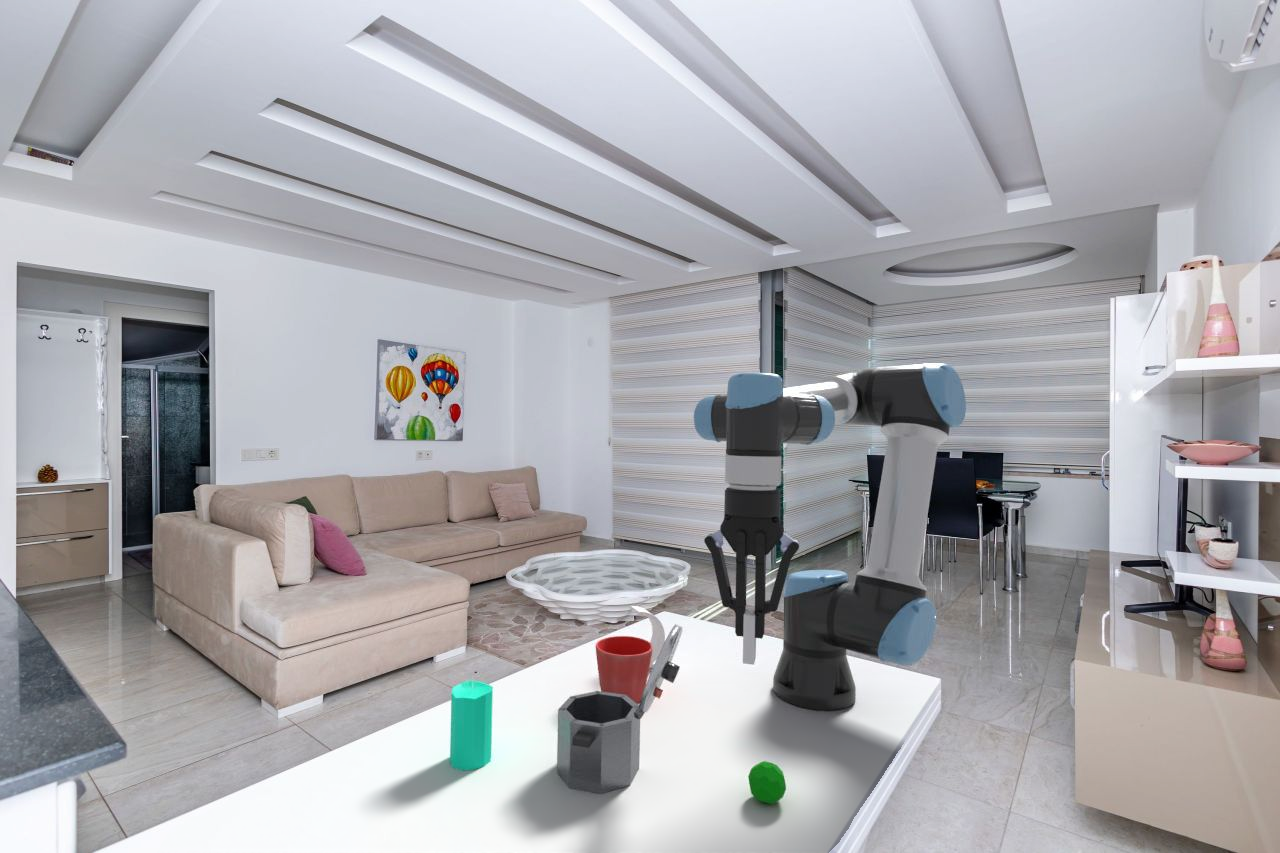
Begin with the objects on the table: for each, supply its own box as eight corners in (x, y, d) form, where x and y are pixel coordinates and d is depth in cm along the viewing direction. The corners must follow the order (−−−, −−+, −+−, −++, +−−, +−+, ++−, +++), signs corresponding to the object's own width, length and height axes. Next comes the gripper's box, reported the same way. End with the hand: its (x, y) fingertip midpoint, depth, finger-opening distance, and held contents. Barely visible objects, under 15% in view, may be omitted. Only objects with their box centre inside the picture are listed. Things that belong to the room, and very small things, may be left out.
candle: (447, 753, 94) (449, 673, 94) (487, 746, 97) (489, 668, 97) (452, 773, 89) (454, 689, 89) (495, 765, 91) (496, 683, 91)
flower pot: (653, 686, 121) (654, 636, 121) (649, 712, 110) (650, 656, 110) (599, 683, 122) (600, 633, 122) (589, 708, 111) (590, 653, 111)
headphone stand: (629, 662, 133) (630, 606, 133) (655, 659, 135) (656, 603, 135) (638, 670, 129) (639, 612, 129) (664, 666, 131) (665, 609, 131)
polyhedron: (793, 804, 83) (794, 768, 83) (766, 815, 81) (767, 778, 81) (766, 785, 88) (767, 751, 88) (740, 796, 85) (741, 761, 85)
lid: (648, 691, 95) (668, 702, 94) (624, 728, 83) (647, 740, 82) (679, 612, 94) (699, 622, 93) (659, 638, 82) (682, 649, 81)
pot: (648, 751, 96) (649, 692, 96) (618, 806, 82) (620, 737, 82) (581, 740, 99) (582, 683, 99) (541, 791, 85) (542, 725, 85)
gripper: (802, 486, 87) (799, 656, 87) (709, 482, 90) (706, 646, 90) (801, 491, 80) (798, 676, 80) (700, 487, 83) (697, 664, 83)
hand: (749, 660), depth 85 cm, fingers closed
